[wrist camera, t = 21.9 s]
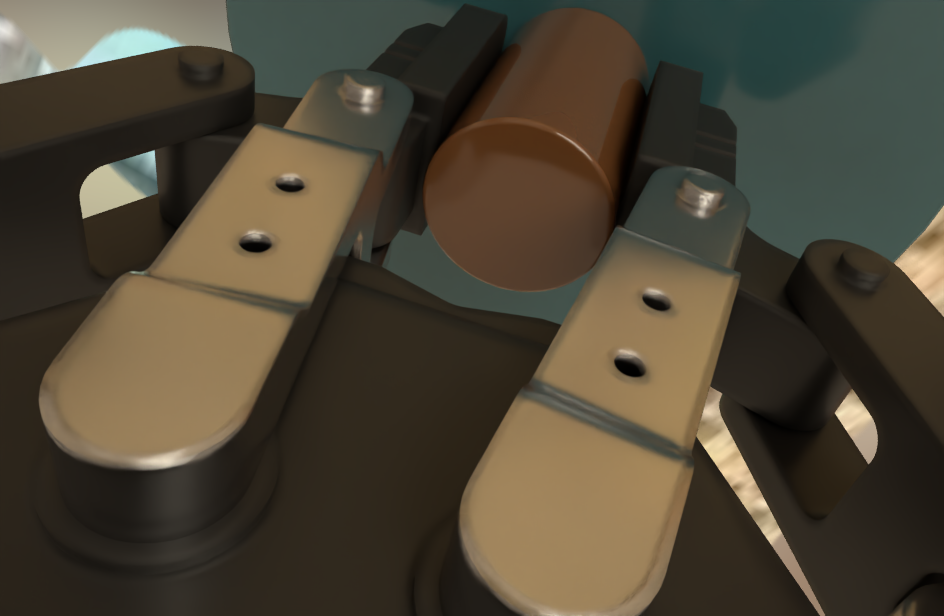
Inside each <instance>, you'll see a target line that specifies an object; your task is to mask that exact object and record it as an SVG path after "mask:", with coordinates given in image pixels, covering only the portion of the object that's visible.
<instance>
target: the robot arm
mask: <svg viewBox="0 0 944 616" xmlns="http://www.w3.org/2000/svg"><path fill="white" fill-rule="evenodd" d="M507 22H508V17H507V15H504V14H501V13H497V12H494V11H491V10H487V9H484V8H480V7H477V6H473V5H470V4H466V3H465V4H464V5H463V6H462V7H461V8H460V9H459V10H458V11H457V13H456V14H455V15H454V16H453V17H452V18H451V19H450V20H449V22H448V23H447V24H446V25H445V26H444V27H441V26H437V25H434V24H431V23H425V24H422V25H419V26H416V27H412V28H409V29H406V30H405V31H404V32H403V33H402V34H401V35H400V36H399V37H398V38H397V39H396V40H395V42H394V44H393V43H392V44H391V45H390V46H389V47H388V48H387V49H386V50H385V53H382V54H381V55H380V56H379V57H378V58H377V59H376V60H375V61H374V62H373V63H372V64H371V65H370V66H369V67H368V68H367V69H366V70H363V69H339V70H333V71H329V72H327V73H324V74H322V75H321V76H319V77H318V78H317V79H316V80H315V81H314V83H313V84H312V86H311V87H310V89H309V90H308V92H307V93H306V95H305V96H304V98H296V97H287V96H279V95H272V94H264V93H256V92H255V70H254V68H253V66H252V65H251V64H250V62H248V61H247V60H246V59H244V58H243V57H241V56H239V55H237V54H234V53H232V52H229V51H226V50H222V49H217V48H212V47H204V46H182V47H174V48H169V49H164V50H159V51H155V52H150V53H145V54H141V55H136V56H131V57H126V58H122V59H117V60H112V61H107V62H103V63H98V64H93V65H88V66H84V67H79V68H74V69H70V70H65V71H60V72H55V73H51V74H46V75H41V76H36V77H32V78H27V79H22V80H17V81H13V82H8V83H3V84H0V616H820V615H819V614H818V612H817V611H816V609H815V608H814V606H813V605H812V603H811V602H810V601H809V599H808V598H807V596H806V595H805V593H804V592H803V590H802V589H801V588H800V586H799V585H798V583H797V582H796V580H795V579H794V577H793V576H792V575H791V573H790V572H789V570H788V569H787V567H786V566H785V564H784V563H783V562H782V560H781V559H780V557H779V556H778V554H777V553H776V552H775V550H774V549H773V547H772V546H771V544H770V543H769V541H768V540H767V538H766V537H765V536H764V534H763V533H762V531H761V530H760V528H759V527H758V525H757V524H756V523H755V521H754V520H753V518H752V517H751V515H750V514H749V512H748V511H747V509H746V508H745V507H744V505H743V504H742V502H741V501H740V499H739V498H738V496H737V495H736V494H735V492H734V491H733V489H732V488H731V486H730V485H729V483H728V482H727V481H726V479H725V478H724V476H723V475H722V473H721V472H720V470H719V469H718V467H717V466H716V465H715V463H714V462H713V460H712V459H711V457H710V456H709V454H708V453H707V451H706V450H705V449H704V447H703V446H702V444H701V443H700V441H699V440H698V438H697V437H696V435H697V431H698V427H699V424H700V420H701V417H702V413H703V410H704V406H705V402H706V399H707V395H708V392H709V388H710V387H712V388H714V389H716V390H717V391H719V392H721V393H722V396H721V399H720V405H719V408H720V413H721V416H722V418H723V420H724V422H725V424H726V426H727V428H728V430H729V432H730V434H731V436H732V438H733V439H734V441H735V443H736V445H737V447H738V449H739V451H740V453H741V455H742V457H743V459H744V461H745V462H746V464H747V466H748V468H749V470H750V472H751V474H752V476H753V478H754V480H755V482H756V484H757V485H758V487H759V489H760V491H761V493H762V495H763V497H764V499H765V501H766V503H767V505H768V506H769V508H770V510H771V512H772V514H773V516H774V518H775V520H776V522H777V524H778V526H779V528H780V529H781V531H782V533H783V535H784V537H785V539H786V541H787V543H788V544H789V546H790V549H791V550H792V552H793V554H794V556H795V558H796V560H797V562H798V564H799V566H800V568H801V569H802V572H803V573H804V575H805V577H806V579H807V581H808V583H809V585H810V586H811V589H812V591H813V592H814V594H815V596H816V598H817V600H818V602H819V604H820V606H821V608H822V610H823V612H824V613H825V616H944V317H943V316H942V315H941V313H940V312H939V311H938V310H937V309H936V308H935V307H934V306H933V304H932V303H931V302H930V301H929V300H928V299H927V298H926V297H925V295H924V294H923V293H922V292H921V291H920V290H919V289H918V288H917V286H916V285H915V284H914V283H913V282H912V281H911V280H910V279H909V278H908V276H907V275H906V274H905V273H904V272H903V271H902V270H901V269H900V268H899V267H897V266H896V265H895V264H894V263H892V262H891V261H889V260H888V259H887V258H885V257H883V256H882V255H880V254H878V253H876V252H874V251H872V250H870V249H868V248H866V247H863V246H861V245H858V244H855V243H851V242H848V241H843V240H836V239H821V240H816V241H814V242H812V243H810V244H809V245H808V246H807V247H806V249H805V250H804V252H803V254H802V256H801V257H800V259H799V258H797V257H795V256H793V255H791V254H789V253H787V252H785V251H783V250H781V249H779V248H777V247H775V246H773V245H771V244H770V243H768V242H766V241H765V240H763V239H762V238H760V237H759V236H757V235H756V234H755V233H754V232H752V231H751V230H750V229H749V228H748V227H747V223H748V220H749V216H750V213H751V207H750V203H749V201H748V199H747V198H746V197H745V195H744V194H743V193H742V192H741V191H740V190H739V189H738V188H736V187H735V182H736V158H735V157H736V143H737V127H736V125H735V124H734V123H733V121H732V120H731V118H730V117H729V116H728V114H727V113H726V111H725V110H722V109H719V108H715V107H712V106H708V105H705V104H702V103H700V98H701V89H702V81H703V72H700V71H696V70H693V69H689V68H686V67H682V66H679V65H676V64H672V63H669V62H665V61H662V60H660V62H659V64H658V67H657V70H656V72H655V75H654V78H653V81H652V83H651V86H650V89H649V92H648V95H647V97H646V101H645V105H644V109H643V113H642V117H641V121H640V125H639V130H638V134H637V138H636V142H635V146H634V150H633V154H632V158H631V162H630V166H629V170H628V174H627V178H626V182H625V186H624V190H623V194H622V198H621V202H620V206H619V211H618V218H617V222H616V226H615V230H614V231H613V233H612V235H611V237H610V239H609V240H608V242H607V244H606V246H605V248H604V249H603V251H602V253H601V255H600V257H599V258H598V260H597V262H596V264H595V266H594V267H593V269H592V271H591V273H590V275H589V276H588V278H587V280H586V282H585V284H584V285H583V287H582V289H581V291H580V293H579V294H578V296H577V298H576V300H575V302H574V303H573V305H572V307H571V309H570V311H569V312H568V314H567V316H566V318H565V320H564V321H563V323H562V325H560V324H557V323H554V322H551V321H548V320H545V319H542V318H535V317H528V316H521V315H514V314H508V313H501V312H494V311H487V310H481V309H474V308H467V307H461V306H457V305H454V304H451V303H449V302H447V301H445V300H443V299H441V298H439V297H437V296H435V295H434V294H432V293H430V292H428V291H426V290H424V289H422V288H420V287H419V286H417V285H415V284H413V283H411V282H409V281H407V280H406V279H404V278H402V277H400V276H398V275H396V274H394V273H393V272H391V271H389V270H387V266H388V263H389V260H390V255H391V249H392V242H393V239H394V238H395V237H396V235H397V234H398V232H399V231H400V229H401V230H404V231H407V232H411V233H414V234H417V235H420V236H421V235H422V234H423V232H424V230H425V229H426V227H427V225H428V223H427V221H426V218H425V213H424V208H423V200H422V187H423V180H424V175H425V171H426V169H427V166H428V164H429V161H430V159H431V158H432V156H433V154H434V153H435V151H436V150H437V148H438V147H439V145H440V144H441V142H442V141H443V139H444V138H445V136H446V135H447V133H448V132H449V130H450V129H451V127H452V126H453V124H454V123H455V121H456V120H457V118H458V117H459V115H460V114H461V112H462V111H463V109H464V108H465V107H466V105H467V104H468V102H469V101H470V99H471V98H472V96H473V95H474V93H475V92H476V90H477V89H478V87H479V86H480V84H481V83H482V81H483V80H484V78H485V77H486V75H487V74H488V72H489V71H490V69H491V68H492V67H493V65H494V64H495V62H496V61H497V59H498V58H499V56H500V55H501V53H502V49H503V44H504V40H505V35H506V30H507ZM153 150H155V160H156V172H157V184H158V194H155V195H152V196H149V197H146V198H143V199H140V200H137V201H134V202H131V203H128V204H126V205H123V206H120V207H117V208H114V209H111V210H108V211H105V212H102V213H99V214H96V215H93V216H90V217H87V218H84V219H83V218H82V212H81V206H80V198H79V194H80V189H81V186H82V184H83V182H84V180H85V179H86V178H87V176H88V175H89V174H90V173H91V172H93V171H94V170H95V169H97V168H99V167H100V166H103V165H106V164H110V163H113V162H116V161H120V160H123V159H126V158H130V157H133V156H136V155H140V154H143V153H146V152H150V151H153ZM851 389H853V390H854V392H855V393H856V394H857V396H858V397H859V399H860V400H861V402H862V403H863V404H864V406H865V407H866V409H867V410H868V412H869V413H870V415H871V416H872V418H873V420H874V422H875V425H876V429H877V434H878V446H877V451H876V454H875V456H874V458H873V460H872V461H871V463H870V464H869V465H868V463H867V462H866V460H865V459H864V457H863V455H862V454H861V452H860V451H859V449H858V448H857V446H856V445H855V443H854V442H853V440H852V439H851V437H850V436H849V434H848V433H847V431H846V430H845V428H844V427H843V425H842V424H841V422H840V421H839V419H838V418H837V416H836V415H835V411H836V410H837V409H838V407H839V406H840V404H841V403H842V402H843V400H844V399H845V397H846V396H847V395H848V393H849V392H850V390H851Z"/></svg>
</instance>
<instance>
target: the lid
mask: <svg viewBox="0 0 944 616" xmlns="http://www.w3.org/2000/svg"><path fill="white" fill-rule="evenodd" d="M465 3H466V4H470V5H473V6H477V7H480V8H484V9H487V10H491V11H494V12H497V13H501V14H504V15H507V17H508V22H507V30H506V35H505V40H504V44H503V49H502V53H501V55H500V56H499V58H498V59H497V61H496V62H495V64H494V65H493V67H492V68H491V69H490V71H489V72H488V74H487V75H486V77H485V78H484V80H483V81H482V83H481V84H480V86H479V87H478V89H477V90H476V92H475V93H474V95H473V96H472V98H471V99H470V101H469V102H468V104H467V105H466V107H465V108H464V109H463V111H462V112H461V114H460V115H459V117H458V118H457V120H456V121H455V123H454V124H453V126H452V127H451V129H450V130H449V132H448V133H447V135H446V136H445V138H444V139H443V141H442V142H441V144H440V145H439V147H438V148H437V150H436V151H435V153H434V154H433V156H432V158H431V159H430V161H429V164H428V166H427V169H426V171H425V175H424V180H423V187H422V200H423V208H424V213H425V218H426V221H427V223H428V225H427V227H426V229H425V230H424V232H423V234H422V235H421V236H420V235H417V234H414V233H411V232H407V231H404V230H401V229H400V231H399V232H398V234H397V235H396V237H395V238H394V239H393V242H392V249H391V255H390V260H389V263H388V266H387V270H389V271H391V272H393V273H394V274H396V275H398V276H400V277H402V278H404V279H406V280H407V281H409V282H411V283H413V284H415V285H417V286H419V287H420V288H422V289H424V290H426V291H428V292H430V293H432V294H434V295H435V296H437V297H439V298H441V299H443V300H445V301H447V302H449V303H451V304H454V305H457V306H461V307H467V308H474V309H481V310H487V311H494V312H501V313H508V314H514V315H521V316H528V317H535V318H542V319H545V320H548V321H551V322H554V323H557V324H560V325H562V323H563V321H564V320H565V318H566V316H567V314H568V312H569V311H570V309H571V307H572V305H573V303H574V302H575V300H576V298H577V296H578V294H579V293H580V291H581V289H582V287H583V285H584V284H585V282H586V280H587V278H588V276H589V275H590V273H591V271H592V269H593V267H594V266H595V264H596V262H597V260H598V258H599V257H600V255H601V253H602V251H603V249H604V248H605V246H606V244H607V242H608V240H609V239H610V237H611V235H612V233H613V231H614V230H615V226H616V222H617V218H618V211H619V206H620V202H621V198H622V194H623V190H624V186H625V182H626V178H627V174H628V170H629V166H630V162H631V158H632V154H633V150H634V146H635V142H636V138H637V134H638V130H639V125H640V121H641V117H642V113H643V109H644V105H645V101H646V97H647V95H648V92H649V89H650V86H651V83H652V81H653V78H654V75H655V72H656V70H657V67H658V64H659V62H660V60H662V61H665V62H669V63H672V64H676V65H679V66H682V67H686V68H689V69H693V70H696V71H700V72H703V81H702V89H701V98H700V103H702V104H705V105H708V106H712V107H715V108H719V109H722V110H725V111H726V113H727V114H728V116H729V117H730V118H731V120H732V121H733V123H734V124H735V125H736V127H737V143H736V157H735V158H736V182H735V187H736V188H738V189H739V190H740V191H741V192H742V193H743V194H744V195H745V197H746V198H747V199H748V201H749V203H750V207H751V213H750V216H749V220H748V223H747V227H748V228H749V229H750V230H751V231H752V232H754V233H755V234H756V235H757V236H759V237H760V238H762V239H763V240H765V241H766V242H768V243H770V244H771V245H773V246H775V247H777V248H779V249H781V250H783V251H785V252H787V253H789V254H791V255H793V256H795V257H797V258H799V259H800V257H801V256H802V254H803V252H804V250H805V249H806V247H807V246H808V245H809V244H810V243H812V242H814V241H816V240H821V239H836V240H843V241H848V242H851V243H855V244H858V245H861V246H863V247H866V248H868V249H870V250H872V251H874V252H876V253H878V254H880V255H882V256H883V257H885V258H887V259H888V260H889V261H891V262H892V263H894V262H895V261H896V260H897V259H898V258H899V257H900V256H901V255H902V254H903V253H904V252H905V251H906V249H907V248H908V247H909V246H910V245H911V244H912V243H913V242H914V241H915V240H916V239H917V238H918V237H919V236H920V235H921V234H922V233H923V232H924V231H925V230H926V228H927V227H928V226H929V224H930V223H931V222H932V220H933V219H934V218H935V216H936V215H937V214H938V212H939V211H940V210H941V208H942V207H943V206H944V0H226V6H227V7H226V8H227V18H228V30H229V36H230V41H231V46H232V50H233V53H234V54H237V55H239V56H241V57H243V58H244V59H246V60H247V61H248V62H250V64H251V65H252V66H253V68H254V70H255V92H256V93H264V94H272V95H279V96H287V97H296V98H304V96H305V95H306V93H307V92H308V90H309V89H310V87H311V86H312V84H313V83H314V81H315V80H316V79H317V78H318V77H319V76H321V75H322V74H324V73H327V72H329V71H333V70H339V69H363V70H366V69H367V68H368V67H369V66H370V65H371V64H372V63H373V62H374V61H375V60H376V59H377V58H378V57H379V56H380V55H381V54H382V53H385V50H386V49H387V48H388V47H389V46H390V45H391V44H392V43H393V44H394V42H395V40H396V39H397V38H398V37H399V36H400V35H401V34H402V33H403V32H404V31H405V30H406V29H409V28H412V27H416V26H419V25H422V24H425V23H431V24H434V25H437V26H441V27H444V26H445V25H446V24H447V23H448V22H449V20H450V19H451V18H452V17H453V16H454V15H455V14H456V13H457V11H458V10H459V9H460V8H461V7H462V6H463V5H464V4H465Z"/></svg>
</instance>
